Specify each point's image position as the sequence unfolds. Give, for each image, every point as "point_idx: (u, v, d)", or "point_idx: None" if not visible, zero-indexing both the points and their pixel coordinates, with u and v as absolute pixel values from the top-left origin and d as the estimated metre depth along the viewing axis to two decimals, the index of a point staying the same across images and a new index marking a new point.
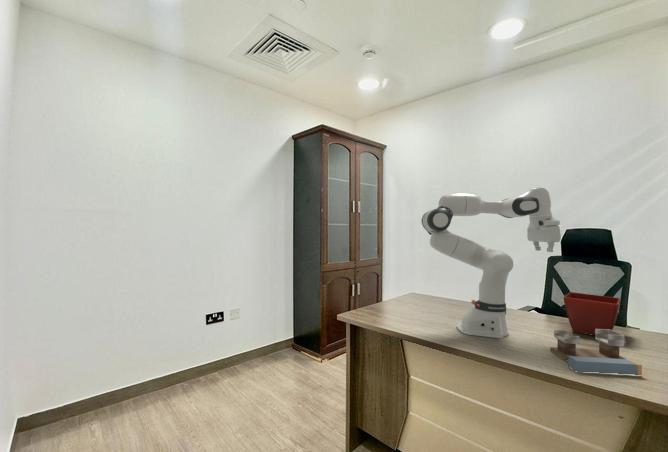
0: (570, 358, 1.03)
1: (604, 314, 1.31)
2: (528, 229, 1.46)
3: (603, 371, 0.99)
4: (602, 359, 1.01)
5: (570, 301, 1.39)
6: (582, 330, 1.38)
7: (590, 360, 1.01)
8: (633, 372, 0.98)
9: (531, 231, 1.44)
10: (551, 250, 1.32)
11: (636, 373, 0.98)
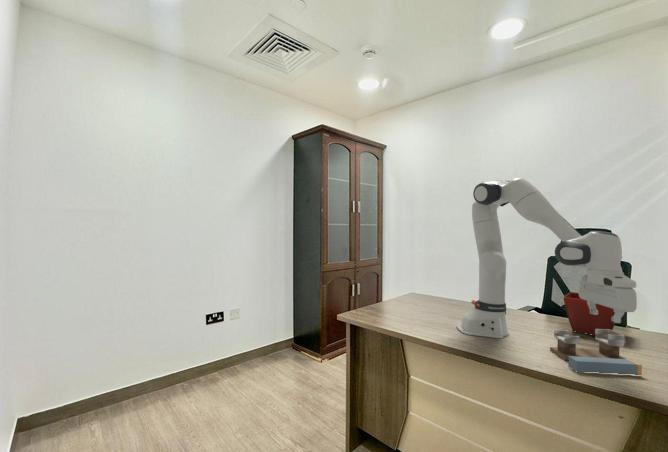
0: (570, 358, 1.03)
1: (604, 314, 1.31)
2: (581, 283, 1.09)
3: (603, 371, 0.99)
4: (602, 359, 1.01)
5: (570, 301, 1.39)
6: (582, 330, 1.38)
7: (590, 360, 1.01)
8: (633, 372, 0.98)
9: (586, 287, 1.07)
10: (618, 320, 0.96)
11: (636, 373, 0.98)
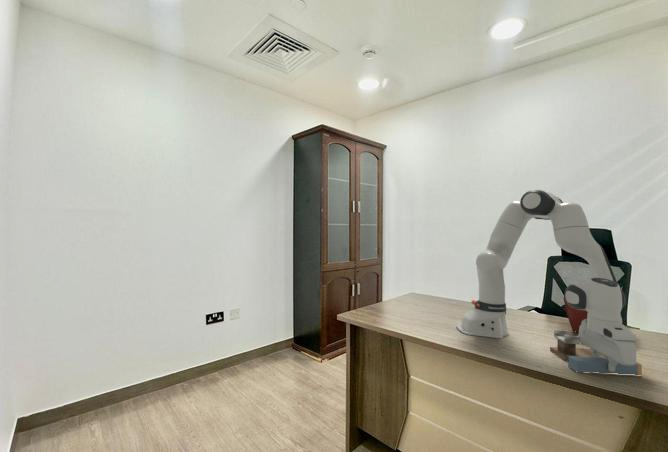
0: (570, 358, 1.03)
1: None
2: (581, 328, 1.09)
3: (603, 371, 0.99)
4: (602, 359, 1.01)
5: None
6: None
7: (590, 359, 1.01)
8: (633, 372, 0.98)
9: (586, 332, 1.07)
10: (613, 369, 0.97)
11: (636, 373, 0.98)
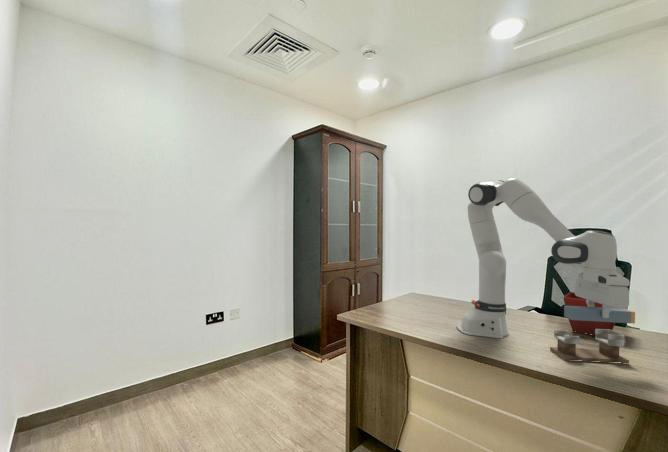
0: (566, 307, 1.06)
1: None
2: (577, 281, 1.12)
3: (597, 318, 1.02)
4: (597, 308, 1.05)
5: (570, 301, 1.39)
6: (582, 330, 1.38)
7: (585, 308, 1.04)
8: (626, 319, 1.01)
9: (582, 285, 1.10)
10: (606, 315, 1.01)
11: (629, 320, 1.01)
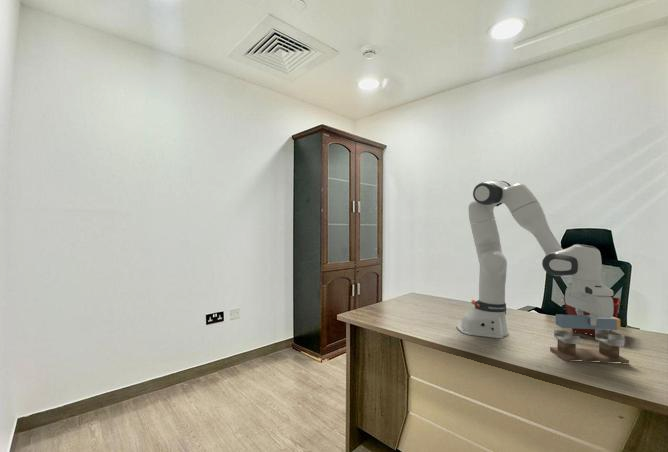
0: (557, 316, 1.15)
1: None
2: (567, 291, 1.21)
3: (586, 326, 1.11)
4: (585, 316, 1.13)
5: None
6: (582, 330, 1.38)
7: (574, 316, 1.13)
8: (613, 326, 1.10)
9: (571, 294, 1.19)
10: (594, 323, 1.09)
11: (615, 327, 1.10)
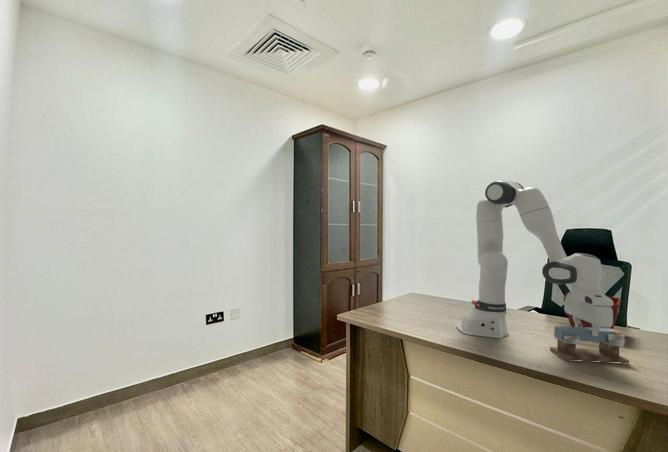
0: (556, 328, 1.15)
1: None
2: (567, 299, 1.21)
3: (585, 338, 1.11)
4: (584, 328, 1.13)
5: None
6: None
7: (573, 328, 1.13)
8: None
9: (571, 303, 1.19)
10: (596, 334, 1.08)
11: None
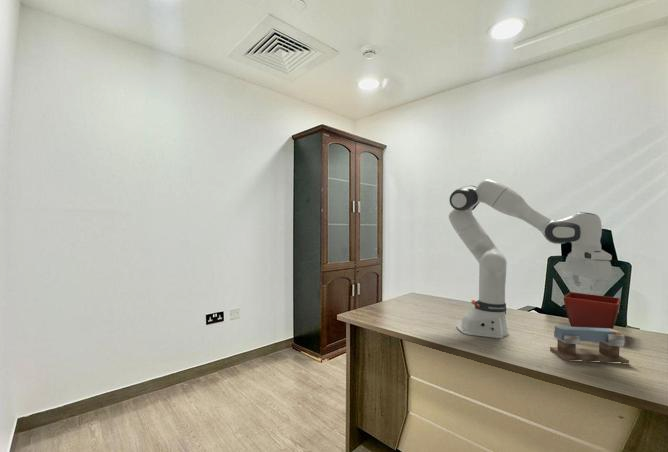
0: (556, 328, 1.15)
1: (604, 314, 1.31)
2: (567, 259, 1.24)
3: (585, 338, 1.11)
4: (584, 328, 1.13)
5: (570, 301, 1.39)
6: None
7: (573, 328, 1.13)
8: None
9: (571, 262, 1.22)
10: (596, 289, 1.10)
11: None
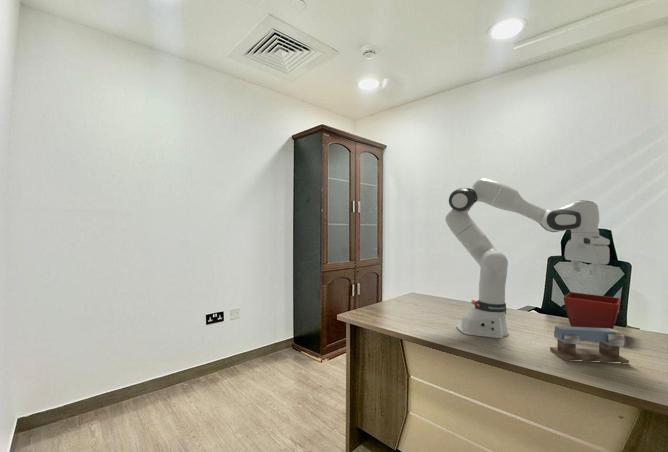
0: (556, 328, 1.15)
1: (604, 314, 1.31)
2: (567, 246, 1.29)
3: (585, 338, 1.11)
4: (584, 328, 1.13)
5: (570, 301, 1.39)
6: None
7: (573, 328, 1.13)
8: None
9: (570, 249, 1.27)
10: (595, 273, 1.16)
11: None
